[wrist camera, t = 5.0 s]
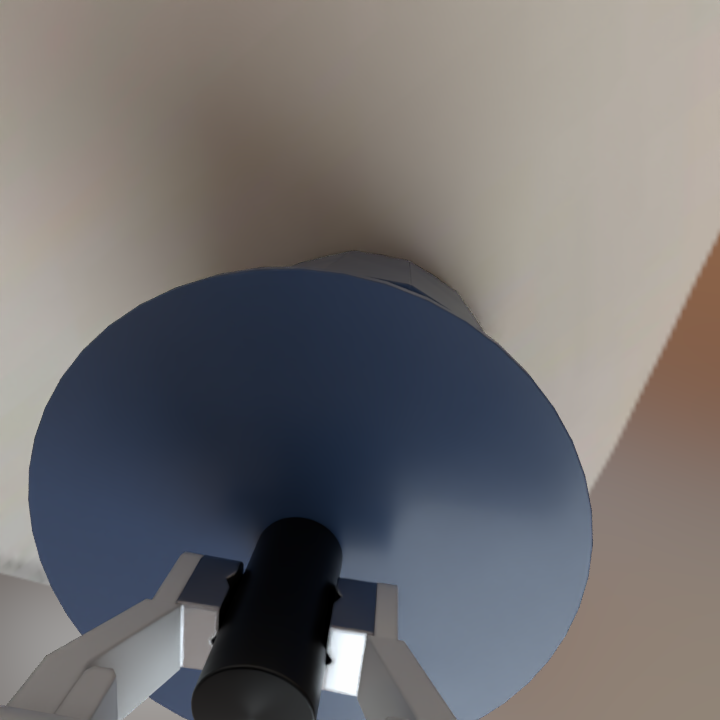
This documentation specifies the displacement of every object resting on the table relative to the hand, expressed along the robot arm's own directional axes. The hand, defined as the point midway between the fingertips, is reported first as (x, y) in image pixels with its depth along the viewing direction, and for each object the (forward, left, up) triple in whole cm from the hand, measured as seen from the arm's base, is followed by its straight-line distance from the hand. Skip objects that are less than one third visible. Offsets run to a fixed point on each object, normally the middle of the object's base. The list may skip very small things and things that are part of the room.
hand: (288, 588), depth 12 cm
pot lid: (0, 0, -2) cm, 2 cm away
